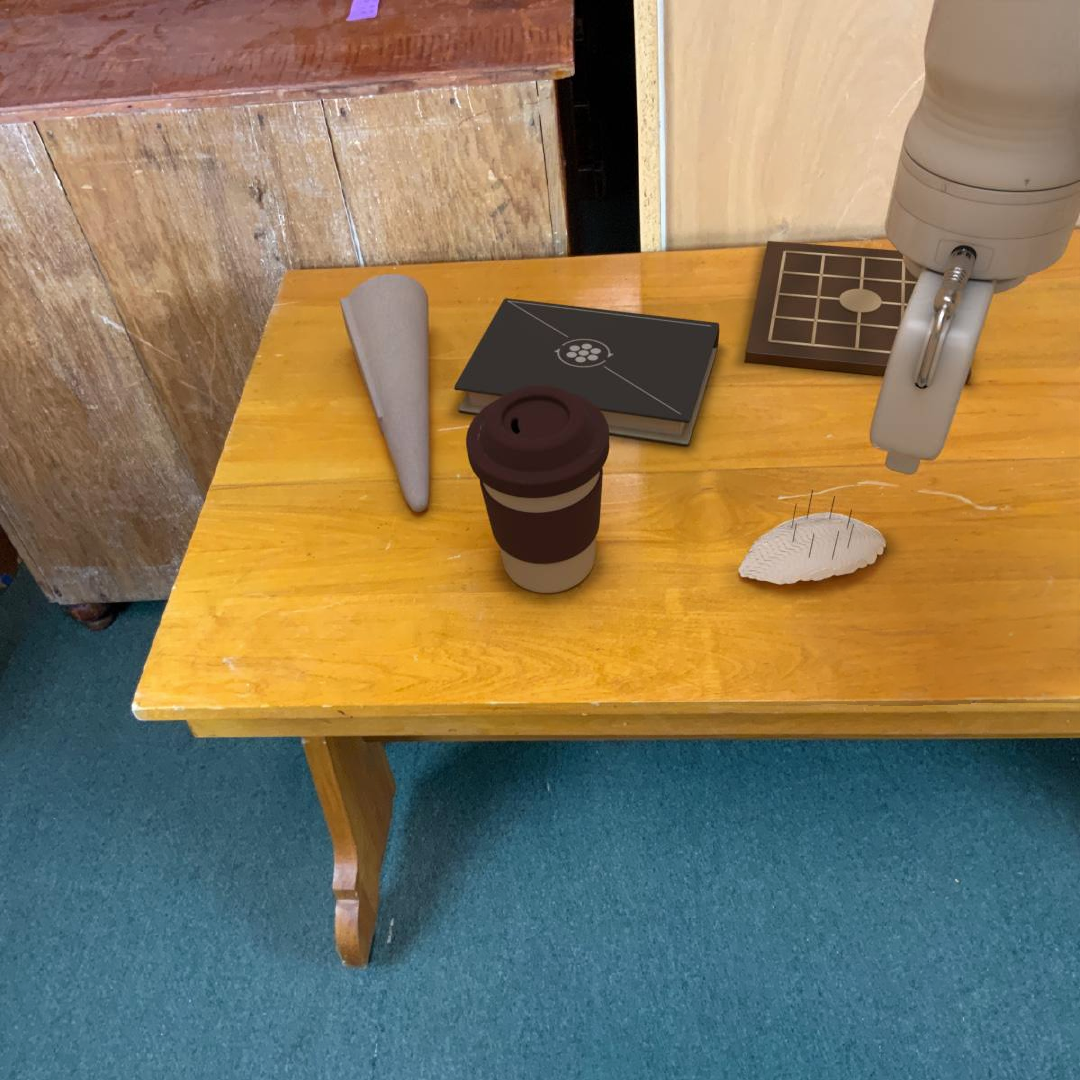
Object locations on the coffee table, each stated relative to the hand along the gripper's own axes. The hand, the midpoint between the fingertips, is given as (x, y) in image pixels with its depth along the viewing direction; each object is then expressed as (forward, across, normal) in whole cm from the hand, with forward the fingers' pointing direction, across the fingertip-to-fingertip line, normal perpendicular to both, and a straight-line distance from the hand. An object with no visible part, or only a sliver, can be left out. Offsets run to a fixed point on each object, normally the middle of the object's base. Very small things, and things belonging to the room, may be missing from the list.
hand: (919, 415), depth 58 cm
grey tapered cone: (+18, +6, +42) cm, 46 cm away
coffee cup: (+18, -6, +23) cm, 30 cm away
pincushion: (+18, +2, +4) cm, 19 cm away
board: (+18, +36, +10) cm, 41 cm away
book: (+18, +16, +30) cm, 38 cm away
